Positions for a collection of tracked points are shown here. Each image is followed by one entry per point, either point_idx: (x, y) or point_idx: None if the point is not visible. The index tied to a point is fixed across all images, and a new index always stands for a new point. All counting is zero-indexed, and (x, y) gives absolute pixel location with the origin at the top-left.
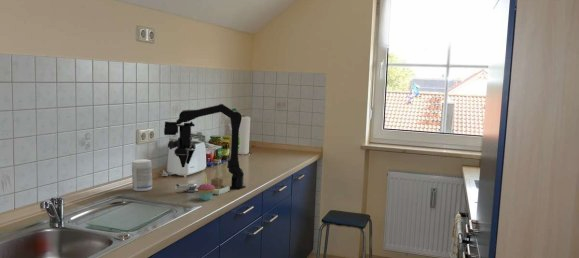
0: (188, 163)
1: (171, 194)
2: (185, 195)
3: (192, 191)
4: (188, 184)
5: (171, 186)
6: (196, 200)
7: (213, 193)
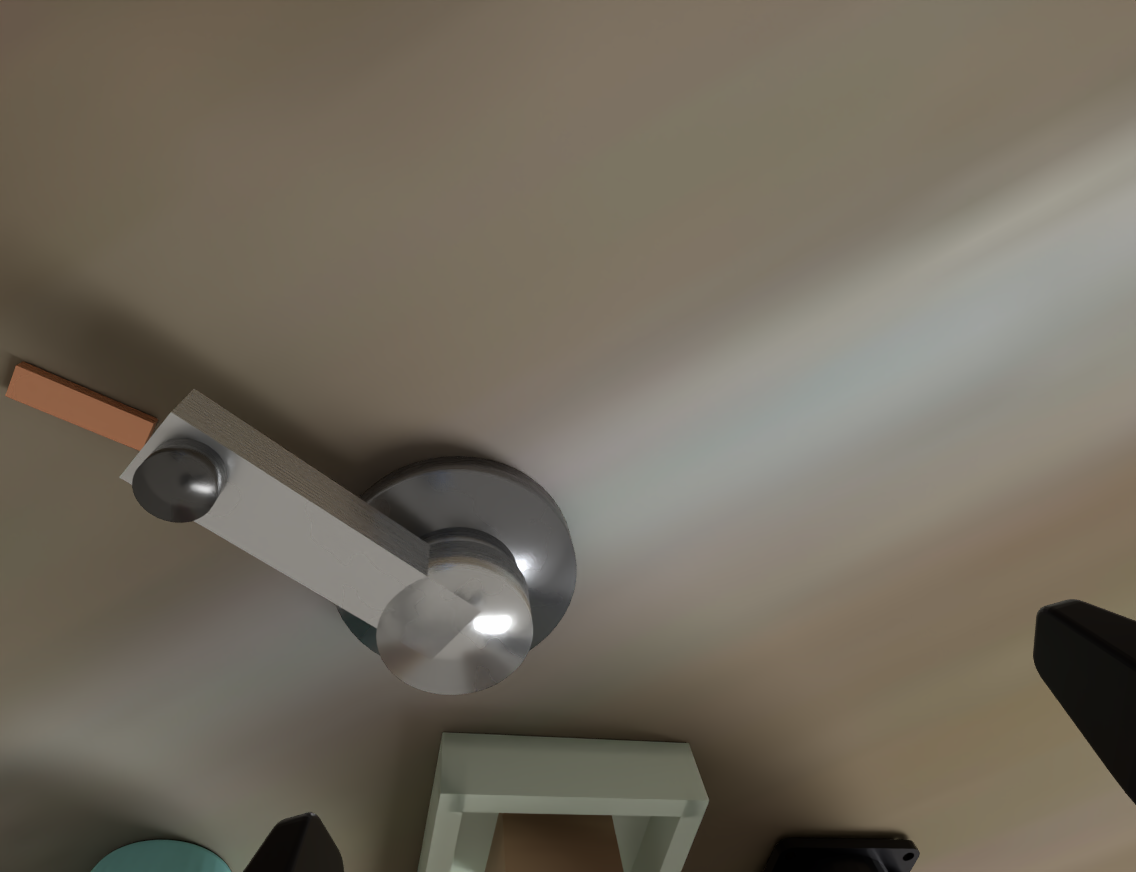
0: (1045, 668)
1: (13, 395)
2: (144, 608)
3: (355, 623)
4: (408, 586)
5: (631, 5)
6: (8, 842)
7: (423, 849)
